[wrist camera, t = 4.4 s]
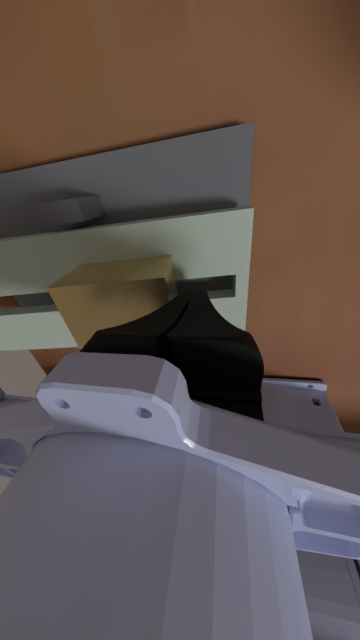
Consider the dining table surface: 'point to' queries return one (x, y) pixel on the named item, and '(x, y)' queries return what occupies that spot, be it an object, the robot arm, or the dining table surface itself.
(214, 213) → the beam
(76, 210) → the pivot stand
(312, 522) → the robot arm
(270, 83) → the dining table surface
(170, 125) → the dining table surface
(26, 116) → the dining table surface
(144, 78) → the dining table surface
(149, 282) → the tan block
